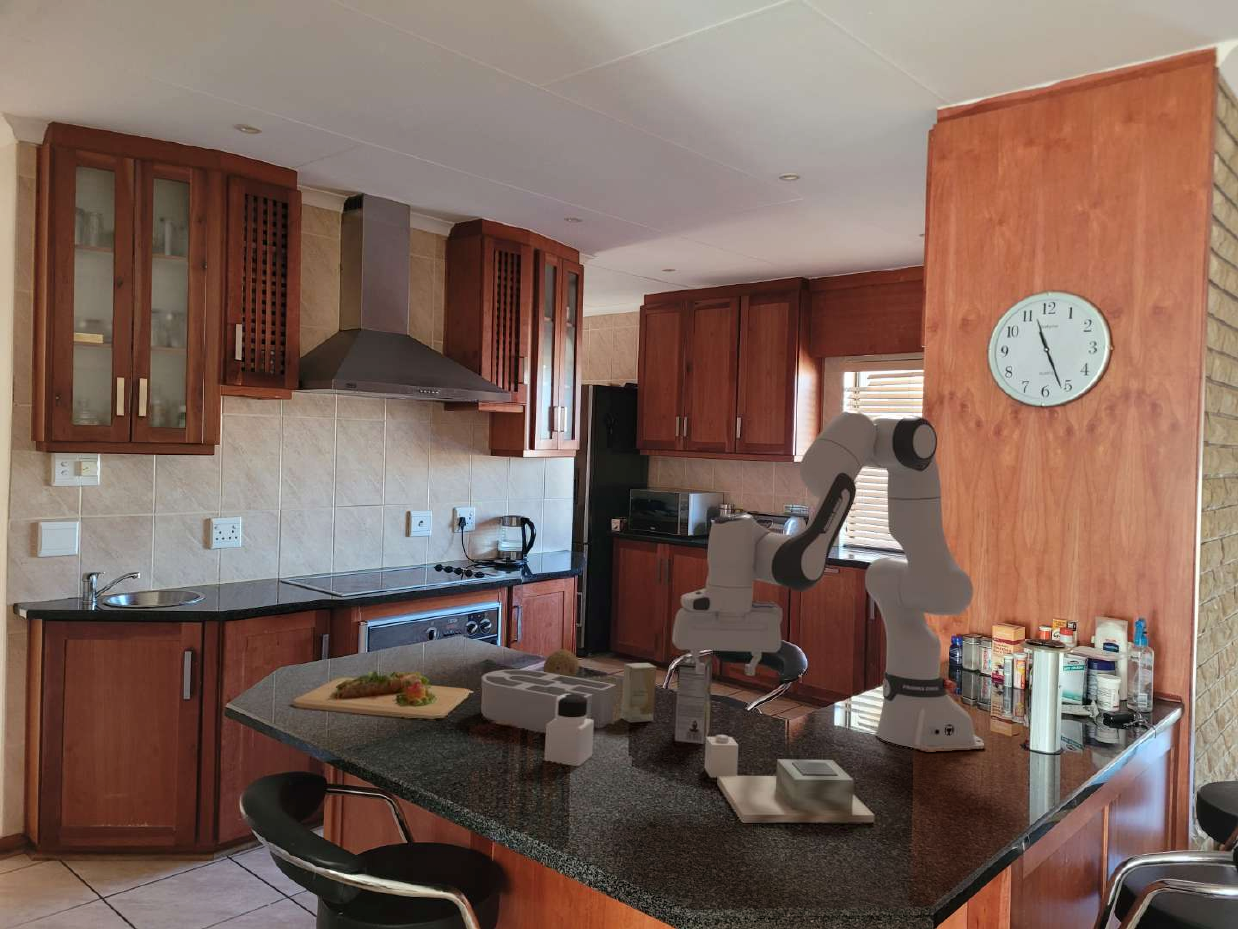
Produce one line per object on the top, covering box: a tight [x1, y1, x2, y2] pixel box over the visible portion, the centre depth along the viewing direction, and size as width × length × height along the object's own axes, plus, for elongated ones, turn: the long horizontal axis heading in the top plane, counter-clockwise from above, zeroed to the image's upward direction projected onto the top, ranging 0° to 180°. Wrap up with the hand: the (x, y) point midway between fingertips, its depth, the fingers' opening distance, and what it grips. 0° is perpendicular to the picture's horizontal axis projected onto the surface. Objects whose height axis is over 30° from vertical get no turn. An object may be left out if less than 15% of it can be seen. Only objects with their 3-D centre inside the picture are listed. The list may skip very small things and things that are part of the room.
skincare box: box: [620, 662, 657, 724], centre depth 201 cm, size 6×4×12 cm
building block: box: [704, 734, 739, 778], centre depth 169 cm, size 5×5×7 cm
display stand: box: [716, 758, 875, 824], centre depth 155 cm, size 22×18×7 cm
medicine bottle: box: [544, 694, 595, 767], centre depth 172 cm, size 7×7×12 cm
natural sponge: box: [542, 649, 580, 678], centre depth 224 cm, size 9×9×10 cm
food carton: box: [674, 655, 713, 745], centre depth 191 cm, size 9×6×16 cm
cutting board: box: [292, 669, 474, 719], centre depth 207 cm, size 35×23×8 cm
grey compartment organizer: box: [480, 669, 616, 733], centre depth 197 cm, size 17×28×9 cm, turn 63°
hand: (724, 674), depth 169 cm, fingers open, 8 cm apart
